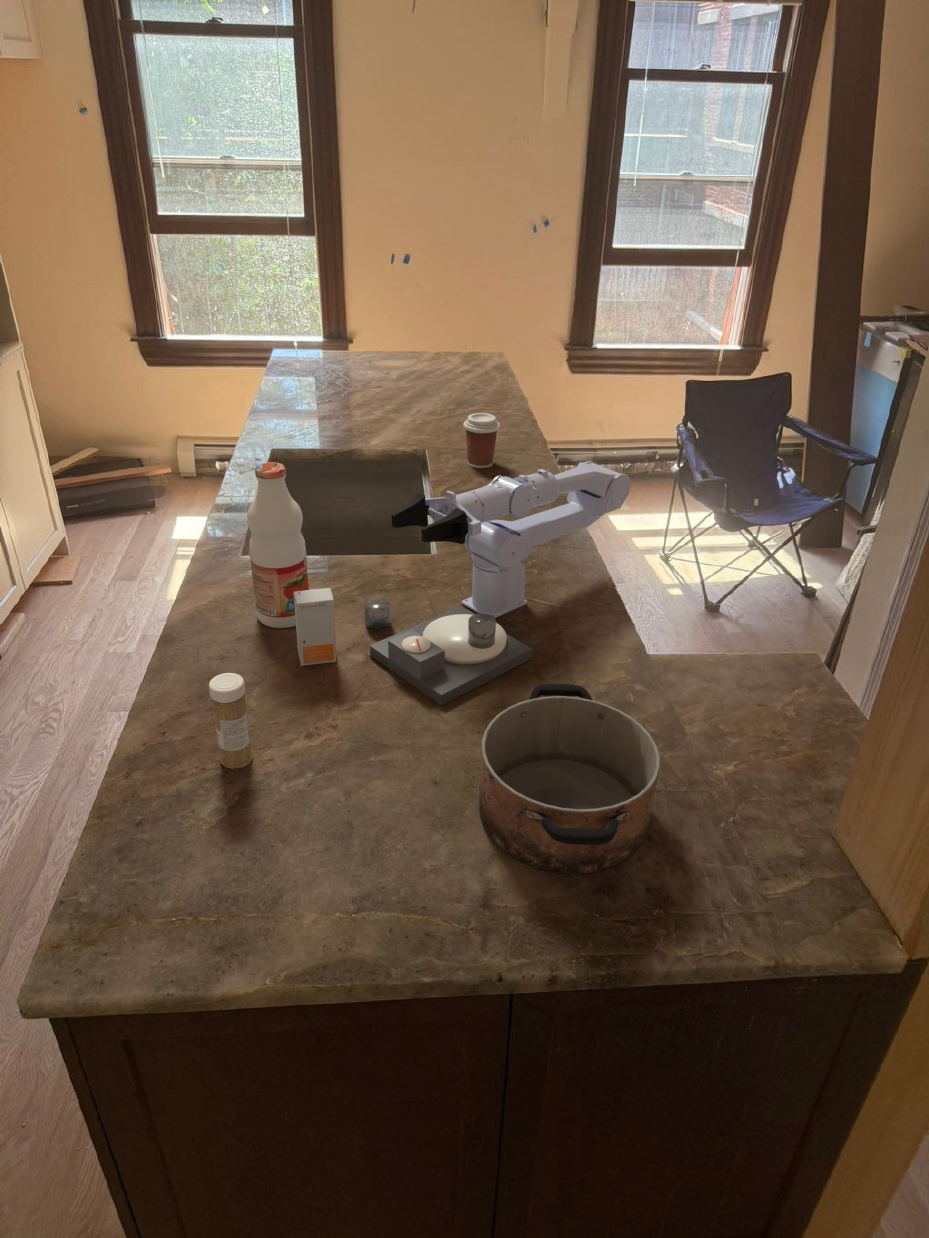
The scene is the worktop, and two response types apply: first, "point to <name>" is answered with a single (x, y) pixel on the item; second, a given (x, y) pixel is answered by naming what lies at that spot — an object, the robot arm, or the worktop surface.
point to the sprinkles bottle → (231, 720)
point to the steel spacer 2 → (481, 631)
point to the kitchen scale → (448, 656)
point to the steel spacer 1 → (377, 614)
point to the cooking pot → (567, 781)
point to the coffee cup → (481, 439)
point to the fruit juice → (276, 548)
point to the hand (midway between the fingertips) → (407, 528)
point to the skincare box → (315, 626)
